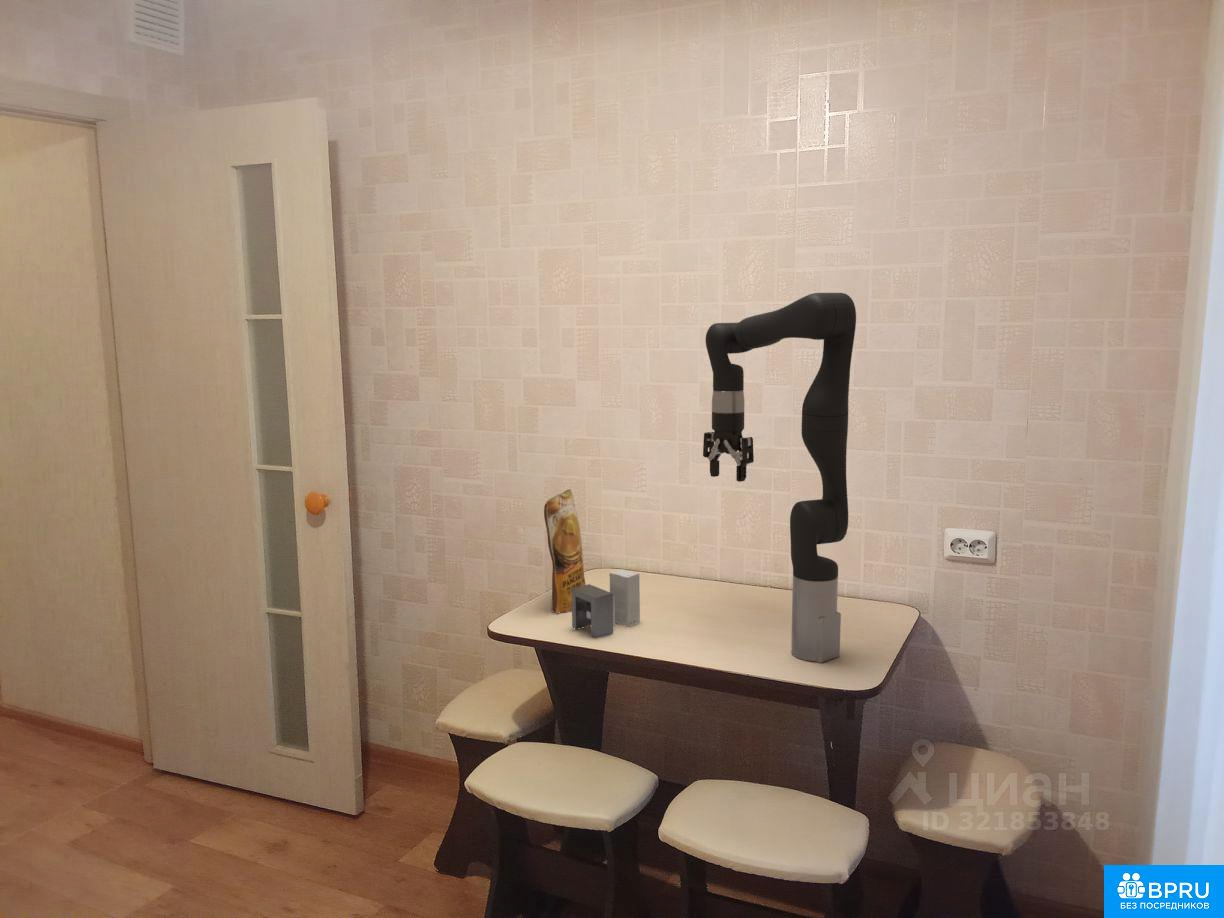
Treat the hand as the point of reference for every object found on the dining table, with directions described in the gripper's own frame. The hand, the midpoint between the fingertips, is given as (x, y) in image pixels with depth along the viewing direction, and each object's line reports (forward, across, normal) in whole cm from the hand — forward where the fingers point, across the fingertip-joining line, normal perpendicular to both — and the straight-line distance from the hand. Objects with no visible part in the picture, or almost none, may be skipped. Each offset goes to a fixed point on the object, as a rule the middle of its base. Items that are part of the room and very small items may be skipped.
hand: (727, 478), depth 215 cm
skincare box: (+33, +11, +22) cm, 42 cm away
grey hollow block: (+33, +13, +29) cm, 45 cm away
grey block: (+32, +14, +30) cm, 46 cm away
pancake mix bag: (+33, +31, +25) cm, 52 cm away
